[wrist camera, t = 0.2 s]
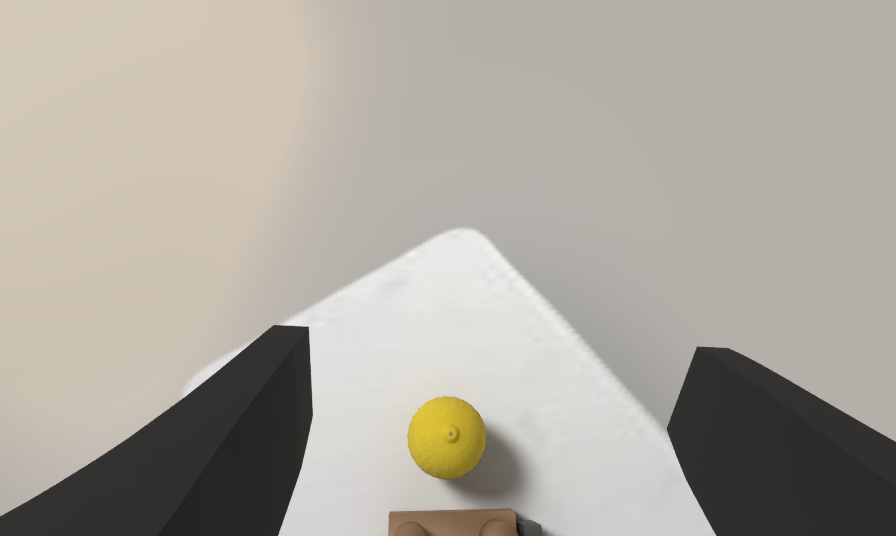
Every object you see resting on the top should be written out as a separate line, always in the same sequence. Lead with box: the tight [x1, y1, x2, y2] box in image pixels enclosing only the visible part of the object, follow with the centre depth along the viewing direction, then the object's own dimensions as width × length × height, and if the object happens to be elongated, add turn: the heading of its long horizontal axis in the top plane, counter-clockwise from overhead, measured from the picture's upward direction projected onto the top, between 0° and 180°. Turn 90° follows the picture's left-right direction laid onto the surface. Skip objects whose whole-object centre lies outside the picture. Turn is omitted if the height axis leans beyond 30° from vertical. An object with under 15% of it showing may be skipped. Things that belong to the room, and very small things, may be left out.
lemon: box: [408, 396, 486, 479], centre depth 35 cm, size 6×6×8 cm
